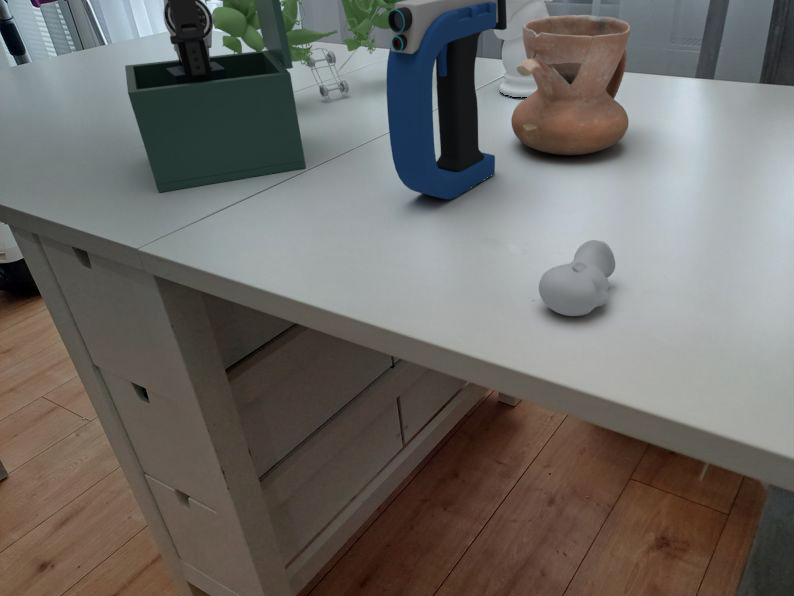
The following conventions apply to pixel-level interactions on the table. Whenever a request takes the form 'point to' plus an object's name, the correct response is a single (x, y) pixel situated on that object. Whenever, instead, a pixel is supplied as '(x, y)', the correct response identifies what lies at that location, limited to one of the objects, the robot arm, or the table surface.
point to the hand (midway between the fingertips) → (201, 94)
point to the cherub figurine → (518, 45)
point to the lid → (274, 30)
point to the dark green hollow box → (217, 121)
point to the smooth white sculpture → (579, 280)
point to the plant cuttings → (302, 30)
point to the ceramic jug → (573, 84)
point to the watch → (206, 20)
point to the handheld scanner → (438, 92)
